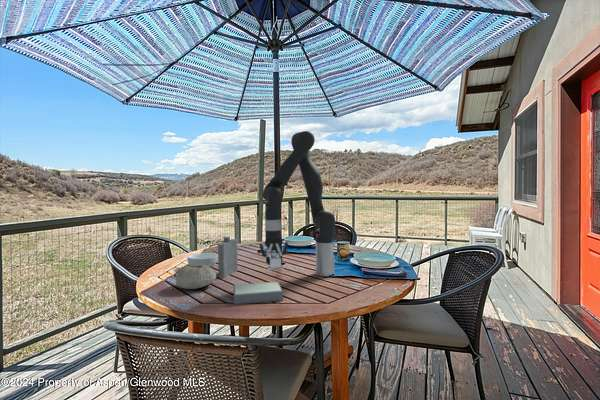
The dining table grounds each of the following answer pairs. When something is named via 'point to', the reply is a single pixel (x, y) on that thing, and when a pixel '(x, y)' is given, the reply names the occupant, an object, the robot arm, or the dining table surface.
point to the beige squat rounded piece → (195, 276)
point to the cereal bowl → (203, 259)
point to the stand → (257, 292)
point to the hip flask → (227, 257)
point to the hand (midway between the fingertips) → (274, 263)
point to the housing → (274, 262)
